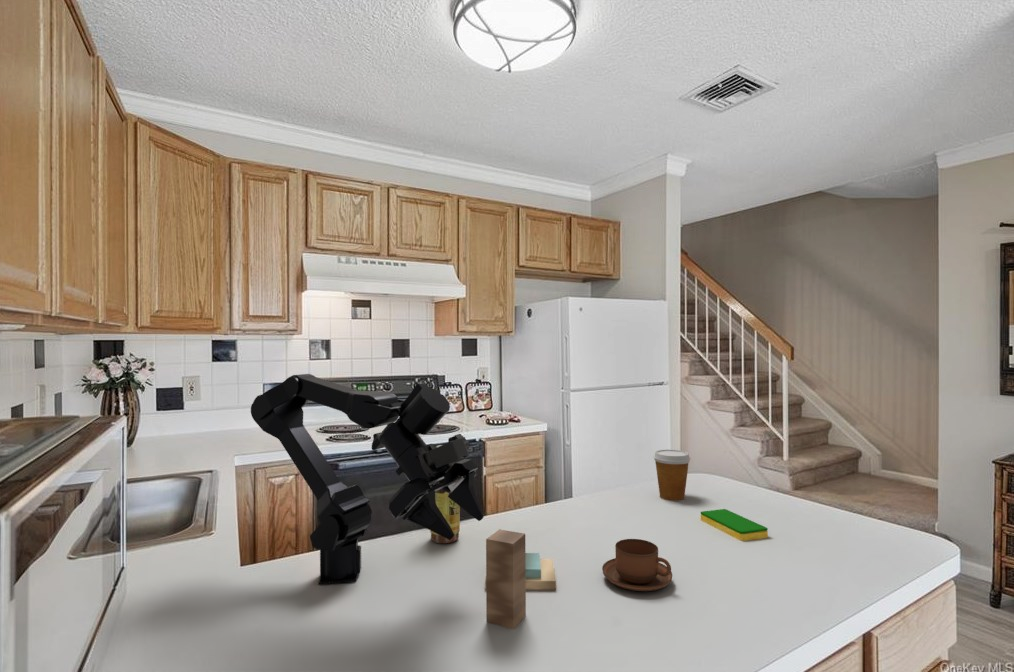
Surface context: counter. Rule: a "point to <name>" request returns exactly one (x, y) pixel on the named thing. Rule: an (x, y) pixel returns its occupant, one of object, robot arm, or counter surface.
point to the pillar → (505, 578)
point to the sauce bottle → (447, 515)
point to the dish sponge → (734, 524)
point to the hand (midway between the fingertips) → (467, 528)
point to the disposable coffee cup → (672, 473)
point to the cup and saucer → (637, 566)
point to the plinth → (545, 577)
